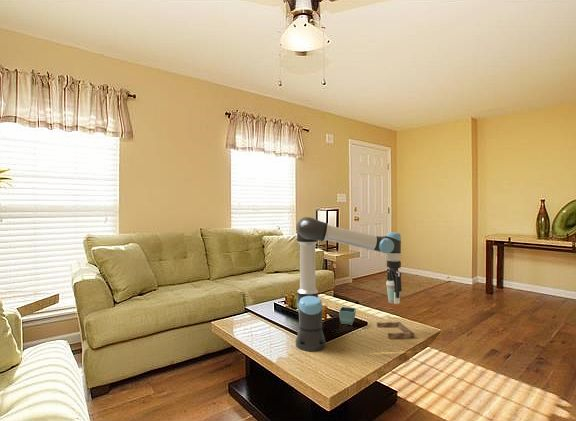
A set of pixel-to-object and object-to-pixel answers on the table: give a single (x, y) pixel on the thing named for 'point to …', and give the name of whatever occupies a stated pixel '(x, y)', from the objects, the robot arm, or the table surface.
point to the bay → (405, 334)
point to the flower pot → (347, 315)
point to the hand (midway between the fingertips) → (393, 301)
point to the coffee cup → (391, 291)
